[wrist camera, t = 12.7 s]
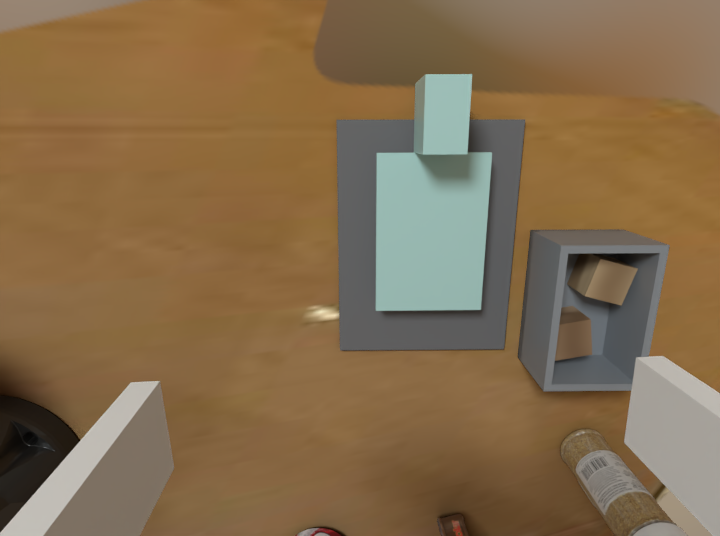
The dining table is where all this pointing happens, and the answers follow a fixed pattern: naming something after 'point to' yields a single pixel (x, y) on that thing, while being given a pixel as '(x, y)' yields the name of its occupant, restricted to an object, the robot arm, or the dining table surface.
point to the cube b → (602, 277)
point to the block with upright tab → (433, 207)
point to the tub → (589, 309)
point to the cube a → (573, 334)
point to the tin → (452, 526)
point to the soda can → (318, 532)
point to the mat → (359, 241)
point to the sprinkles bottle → (614, 487)
